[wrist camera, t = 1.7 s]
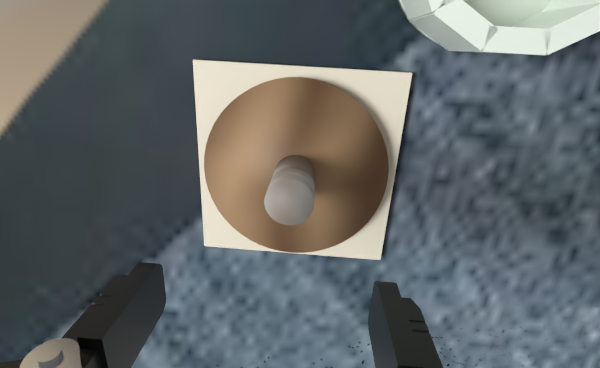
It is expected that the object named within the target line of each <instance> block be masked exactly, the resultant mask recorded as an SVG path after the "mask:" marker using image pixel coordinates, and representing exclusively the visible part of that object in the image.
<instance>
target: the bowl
mask: <svg viewBox="0 0 600 368" xmlns="http://www.w3.org/2000/svg"><path fill="white" fill-rule="evenodd" d="M397 1H398V3H399V5H400V7H401V10H402V11H403V13H404V14H405V16H406V18H407V19H408V21H409V22H410V23H411V24H412V25H413V27H414V28H415V29H416V30H417V31H418V32H420V33H421V34H422V35H423V36H424V37H426V38H427V39H429V40H430V41H432V42H433V43H435V44H438V45H440V46H442V47H443V48H445V49H446V50H449V51H461V52H478V53H496V54H522V55H549V54H551V53H553V52H555V51H557V50H560V49H562V48H564V47H566V46H568V45H570V44H573V43H575V42H577V41H579V40H581V39H584V38H586V37H588V36H590V35H592V34H594V33H597V32H599V31H600V0H397Z"/></svg>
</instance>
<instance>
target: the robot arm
mask: <svg viewBox="0 0 600 368" xmlns="http://www.w3.org/2000/svg"><path fill="white" fill-rule="evenodd" d="M165 303H166V293H165V284H164V276H163V268H162V265H161V264H155V263H142V262H140V263H138V264H137V265H136V266H135V267H134V269H133V270H132V271H131V272H130V273H129V275H122V276H120V277H119V278H117V279H116V280H114V281H112V282H111V283H109V284H108V285H107V287H106V288H105V289H104V290H103V291H102V292H101V294H100V296H98V297H97V298H96V299H95V300H94V302H93V303H92V305H90V306H89V307H88V308H87V310H86V311H85V312H84V313H83V314H82V315H81V316H80V318H79V319H78V320H77V321H76V322H75V323H74V324H73V326H72V327H71V328H70V329H69V330H68V331H67V332H66V334H65V335H64V336H63V337H62V338H59V339H54V340H51V341H48V342H46V343H44V344H42V345H40V346H38V347H36V348H35V349H34V350H32V351H31V352H30V353H29V354H28V355H27V356H26V357H25V358H24V359H21V360H16V361H10V362H4V363H0V368H131V366H132V365H133V363H134V361H135V360H136V358H137V356H138V354H139V353H140V351H141V349H142V347H143V346H144V344H145V342H146V341H147V339H148V337H149V335H150V334H151V332H152V330H153V328H154V327H155V325H156V323H157V322H158V320H159V318H160V316H161V315H162V313H163V310H164V307H165ZM368 325H369V334H370V340H371V345H372V351H373V356H374V362H375V367H376V368H443V366H442V364H441V361H440V359H439V356H438V353H437V351H436V348H435V346H434V343H433V341H432V338H431V335H430V334H429V330H428V328H427V325H426V323H425V320H424V317H423V315H422V312H421V310H420V308H419V307H418V306H417V305H416V304H415V303H414V302H413V300H412V299H411V298H401V295H400V292H399V289H398V286H397V284H396V283H392V282H379V281H375V283H374V287H373V293H372V298H371V304H370V310H369V318H368Z"/></svg>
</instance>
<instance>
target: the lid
mask: <svg viewBox="0 0 600 368" xmlns="http://www.w3.org/2000/svg"><path fill="white" fill-rule="evenodd" d="M204 172H205V179H206V183H207V187H208V190H209V193H210V195H211V198H212V200H213V202H214V204H215V206H216V207H217V209H218V211H219V212H220V213H221V215H222V216H223V217H224V219H225V220H226V221H227V222H228V223H229V224H230V225H231V226H232V227H233V228H234V229H235V230H237V231H238V232H239V233H240V234H242V235H243V236H245V237H246V238H248V239H249V240H251V241H253V242H255V243H257V244H259V245H262V246H264V247H267V248H270V249H274V250H278V251H283V252H291V253H305V252H314V251H319V250H324V249H327V248H330V247H333V246H335V245H337V244H340V243H342V242H344V241H345V240H347V239H349V238H350V237H352V236H353V235H355V234H356V233H357V232H358V231H360V230H361V229H362V228H363V227H364V226H365V225H366V224H367V223H368V222H369V221H370V219H371V218H372V216H373V215H374V214H375V212H376V211H377V209H378V207H379V205H380V203H381V201H382V199H383V196H384V193H385V190H386V186H387V182H388V172H389V165H388V154H387V149H386V145H385V142H384V139H383V136H382V134H381V132H380V130H379V128H378V126H377V124H376V122H375V121H374V120H373V118H372V117H371V115H370V114H369V113H368V111H367V110H366V109H365V108H364V107H363V106H362V105H361V104H360V103H359V102H358V101H357V100H356V99H355V98H353V97H352V96H351V95H350V94H348V93H347V92H345V91H343V90H342V89H340V88H338V87H336V86H334V85H332V84H329V83H327V82H324V81H320V80H316V79H312V78H304V77H286V78H279V79H274V80H270V81H267V82H263V83H261V84H259V85H257V86H254V87H252V88H250V89H249V90H247V91H246V92H244V93H242V94H241V95H239V96H238V97H237V98H235V99H234V100H233V101H232V102H231V103H230V104H229V105H228V106H227V107H226V108H225V109H224V110H223V111H222V113H221V114H220V115H219V117H218V118H217V120H216V121H215V123H214V125H213V127H212V129H211V131H210V134H209V137H208V140H207V143H206V148H205V154H204Z"/></svg>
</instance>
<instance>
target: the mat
mask: <svg viewBox="0 0 600 368" xmlns="http://www.w3.org/2000/svg"><path fill="white" fill-rule="evenodd" d="M193 71H194V87H195V103H196V119H197V135H198V151H199V167H200V183H201V199H202V215H203V231H204V246H211V247H223V248H236V249H248V250H261V251H273V252H283V251H278V250H274V249H270V248H267V247H264V246H262V245H259V244H257V243H255V242H253V241H251V240H249V239H248V238H246V237H245V236H243V235H242V234H240V233H239V232H238V231H237V230H235V229H234V228H233V227H232V226H231V225H230V224H229V223H228V222H227V221H226V220H225V219H224V217H223V216H222V215H221V213H220V212H219V211H218V209H217V207H216V206H215V204H214V202H213V200H212V198H211V195H210V193H209V190H208V187H207V183H206V179H205V172H204V154H205V148H206V143H207V140H208V137H209V134H210V131H211V129H212V127H213V125H214V123H215V121H216V120H217V118H218V117H219V115H220V114H221V113H222V111H223V110H224V109H225V108H226V107H227V106H228V105H229V104H230V103H231V102H232V101H233V100H234V99H235V98H237V97H238V96H239V95H241V94H242V93H244V92H246V91H247V90H249V89H250V88H252V87H254V86H257V85H259V84H261V83H263V82H267V81H270V80H274V79H279V78H286V77H304V78H312V79H316V80H320V81H324V82H327V83H329V84H332V85H334V86H336V87H338V88H340V89H342V90H343V91H345V92H347V93H348V94H350V95H351V96H352V97H353V98H355V99H356V100H357V101H358V102H359V103H360V104H361V105H362V106H363V107H364V108H365V109H366V110H367V111H368V113H369V114H370V115H371V117H372V118H373V120H374V121H375V122H376V124H377V126H378V128H379V130H380V132H381V134H382V136H383V139H384V142H385V145H386V149H387V154H388V165H389V172H388V182H387V186H386V190H385V193H384V196H383V199H382V201H381V203H380V205H379V207H378V209H377V211H376V212H375V214H374V215H373V216H372V218H371V219H370V221H369V222H368V223H367V224H366V225H365V226H364V227H363V228H362V229H361V230H360V231H358V232H357V233H356V234H355V235H353V236H352V237H350V238H349V239H347V240H345V241H344V242H342V243H340V244H337V245H335V246H333V247H330V248H327V249H324V250H319V251H314V252H305V253H298V254H311V255H323V256H336V257H349V258H361V259H374V260H381V254H382V248H383V242H384V236H385V231H386V225H387V219H388V213H389V207H390V201H391V195H392V190H393V184H394V178H395V172H396V166H397V160H398V154H399V149H400V143H401V137H402V131H403V125H404V119H405V113H406V108H407V102H408V96H409V90H410V84H411V78H412V73H411V72H395V71H379V70H362V69H345V68H328V67H312V66H295V65H278V64H262V63H245V62H228V61H211V60H193ZM286 253H291V252H286Z"/></svg>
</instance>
